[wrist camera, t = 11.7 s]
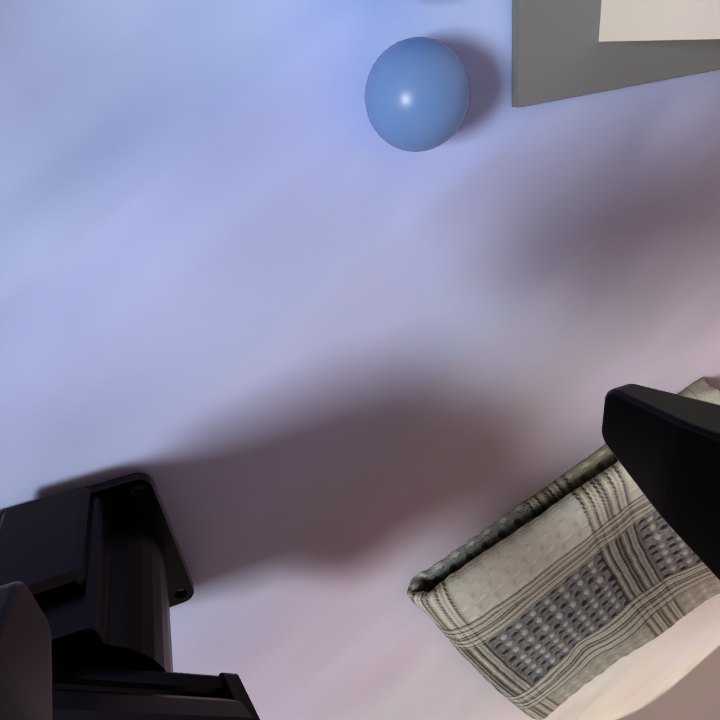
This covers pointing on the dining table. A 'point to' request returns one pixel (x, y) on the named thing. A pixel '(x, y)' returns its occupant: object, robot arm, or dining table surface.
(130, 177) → the dining table surface
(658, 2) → the upright cream box
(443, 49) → the marble
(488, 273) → the dining table surface
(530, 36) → the slate mat
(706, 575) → the dish towel
